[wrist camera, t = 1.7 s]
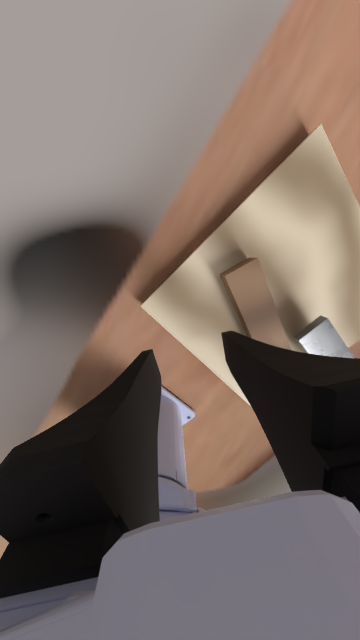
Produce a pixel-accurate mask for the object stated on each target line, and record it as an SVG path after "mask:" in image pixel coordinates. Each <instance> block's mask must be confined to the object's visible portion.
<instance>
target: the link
mask: <svg viewBox="0 0 360 640" xmlns="http://www.w3.org/2000/svg"><path fill="white" fill-rule="evenodd" d="M219 275H220V277H221V279H222V281H223V284H224V286H225V288H226V290H227V292H228V295H229V297H230V299H231V301H232V303H233V306H234V308H235V310H236V312H237V314H238V317H239V319H240V321H241V323H242V325H243V328H244V330H245V332H246V334H247V336H248V337H250V338H252V339H255V340H257V341H260V342H263V343H266V344H270V345H273V346H276V347H280V348H284V349H288V350H291V348H290V345H289V342H288V339H287V337H286V334H285V331H284V328H283V326H282V323H281V320H280V317H279V315H278V312H277V309H276V306H275V303H274V301H273V298H272V295H271V292H270V290H269V287H268V284H267V281H266V279H265V276H264V273H263V270H262V268H261V265H260V262H259V259H258V258H248V259H246V260H244V261H242V262H241V263H239V264H237V265H235V266H233V267H232V268H230V269H228V270H226V271H224V272H223V273H221V274H219Z"/></svg>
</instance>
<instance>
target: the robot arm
mask: <svg viewBox="0 0 360 640" xmlns="http://www.w3.org/2000/svg"><path fill="white" fill-rule="evenodd" d="M221 335H222V341H223V347H224V353H225V360H226V363H227V365H228V367H229V370H230V372H231V374H232V376H233V377H234V379H235V381H236V382H237V384H238V386H239V387H240V389H241V390H242V392H243V394H244V395H245V397H246V398H247V400H248V402H249V403H250V405H251V407H252V408H253V410H254V412H255V414H256V416H257V418H258V420H259V422H260V424H261V426H262V428H263V430H264V432H265V434H266V436H267V438H268V440H269V443H270V445H271V447H272V449H273V451H274V453H275V455H276V458H277V460H278V462H279V464H280V466H281V468H282V471H283V473H284V475H285V477H286V479H287V482H288V484H289V486H290V488H291V491H292V492H288V493H284V494H279V495H275V496H271V497H266V498H261V499H257V500H253V501H248V502H243V503H239V504H235V505H230V506H225V507H221V508H216V509H213V510H207V511H204V510H203V509H202V508H197V507H196V498H195V491H193V490H188V487H187V475H186V464H185V452H184V441H183V429H182V426H183V425H184V424H186V423H187V422H188V421H190V420H191V419H192V418H193V417H195V411H193V410H192V409H191V408H190V407H188V406H187V405H186V404H184V403H183V402H182V401H180V400H179V399H178V398H177V397H175V396H174V395H173V394H171V393H170V392H169V391H167V390H166V389H165V388H164V387H162V386H161V375H160V372H159V369H158V366H157V362H156V359H155V356H154V353H153V350H152V349H151V350H146V351H142V352H141V353H140V354H139V355H138V357H137V358H136V359H135V360H134V361H133V362H132V363H131V364H130V365H129V367H128V368H127V369H126V370H125V371H124V372H123V373H122V374H121V375H120V376H119V377H118V378H117V379H116V380H115V381H114V382H113V383H112V384H111V385H110V386H108V387H107V388H106V389H105V390H104V391H103V392H101V393H100V394H99V395H98V396H97V397H95V398H94V399H93V400H91V401H90V402H88V403H87V404H86V405H84V406H83V407H82V408H80V409H79V410H77V411H76V412H74V413H73V414H71V415H70V416H68V417H67V418H65V419H64V420H62V421H60V422H59V423H57V424H56V425H54V426H52V427H51V428H49V429H47V430H45V431H44V432H42V433H40V434H38V435H36V436H35V437H33V438H31V439H29V440H27V441H26V442H24V443H22V444H20V445H18V446H16V447H14V448H13V449H12V450H11V452H10V453H9V454H8V455H7V457H6V458H5V459H4V460H3V462H2V463H1V464H0V535H1V536H2V537H3V538H5V539H6V540H7V541H8V542H9V544H8V546H7V548H6V550H5V552H4V553H3V555H2V557H1V559H0V640H360V359H357V358H343V357H332V356H323V355H316V354H309V353H303V352H298V351H293V350H288V349H284V348H280V347H276V346H273V345H270V344H266V343H263V342H260V341H257V340H255V339H252V338H250V337H247V336H245V335H242V334H240V333H237V332H234V331H227V332H222V333H221Z"/></svg>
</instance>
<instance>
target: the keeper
mask: <svg viewBox="0 0 360 640" xmlns="http://www.w3.org/2000/svg"><path fill="white" fill-rule="evenodd" d="M293 338H294V339H295V340H296V342H297V343H298V344H299V345H300V347H301V348H302V349H303V350H304V352H305V353H309V354H316V355H323V356H332V357H343V358H354V356H353V355H352V353H351V352H350V350H349V349H348V347H347V346H346V344H345V343H344V341H343V340H342V338H341V337H340V335H339V334H338V332H337V331H336V329H335V328H334V326H333V325H332V323H331V322H330V320H329V319H328V318H326V317H323V316H321V315H320V316H319V317H318V318H316V319H315V320H314V321H313V322H311V323H310V324H309V325H307V326H306V327H305V328H304V329H302V330H301V331H300V332H298V333H297V334H296V335H295V336H293Z"/></svg>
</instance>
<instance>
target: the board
mask: <svg viewBox="0 0 360 640" xmlns="http://www.w3.org/2000/svg"><path fill="white" fill-rule="evenodd" d="M248 258H258V259H259V262H260V265H261V268H262V270H263V273H264V276H265V279H266V281H267V284H268V287H269V290H270V292H271V295H272V298H273V301H274V303H275V306H276V309H277V312H278V315H279V317H280V320H281V323H282V326H283V328H284V331H285V334H286V337H287V339H288V342H289V345H290V348H291V350H293V351H298V352H303V353H305V352H304V350H303V349H302V348H301V347H300V345H299V344H298V343H297V342H296V340H295V339H294V338H293V336H295V335H296V334H297V333H298V332H300V331H301V330H302V329H304V328H305V327H306V326H307V325H309V324H310V323H311V322H313V321H314V320H315V319H316V318H318V317H319V316H320V315H321V316H323V317H326V318H328V319H329V320H330V322H331V323H332V325H333V326H334V328H335V329H336V331H337V332H338V334H339V335H340V337H341V338H342V340H343V341H344V343H345V344H346V346H347V347H348V348H349V347H350V346H352V345H353V344H355V343H356V342H357V341H359V340H360V206H359V204H358V201H357V199H356V197H355V195H354V193H353V191H352V189H351V186H350V184H349V182H348V180H347V178H346V176H345V174H344V171H343V169H342V167H341V165H340V163H339V161H338V159H337V156H336V154H335V152H334V150H333V148H332V146H331V144H330V141H329V139H328V137H327V135H326V133H325V131H324V129H323V126H322V124H320V125H319V126H318V127H317V128H316V129H315V130H314V131H312V132H311V133H310V134H309V135H308V136H307V137H306V138H305V139H304V140H303V141H302V142H301V143H300V144H299V145H298V146H297V147H296V148H295V149H294V150H293V151H292V152H291V153H290V154H289V155H288V156H287V157H286V158H285V159H284V160H283V161H282V162H281V163H280V164H279V165H278V166H277V167H276V168H275V169H274V170H273V171H272V172H271V173H270V174H269V175H268V176H267V177H266V179H265V180H264V181H263V182H262V183H261V184H260V185H259V186H258V187H257V188H256V189H255V190H254V191H253V192H252V193H251V194H250V195H249V196H248V197H247V198H246V199H245V200H244V201H243V202H242V203H241V204H240V205H239V206H238V207H237V208H236V209H235V210H234V211H233V212H232V213H231V214H230V215H229V216H228V217H227V218H226V219H225V220H224V221H223V222H222V223H221V224H220V225H219V226H218V227H217V228H216V229H215V230H214V231H213V232H212V233H211V234H210V235H209V236H208V237H207V238H206V239H205V240H204V241H203V242H202V243H201V244H200V245H199V246H198V247H197V248H196V249H195V250H194V251H193V252H192V253H191V254H190V256H189V257H188V258H187V259H186V260H185V261H184V262H183V263H182V264H181V265H180V266H179V267H178V268H177V269H176V270H175V271H174V272H173V273H172V274H171V275H170V276H169V277H168V278H167V279H166V280H165V281H164V282H163V283H162V284H161V285H160V286H159V287H158V288H157V289H156V290H155V291H154V292H153V293H152V294H151V295H150V296H149V297H148V298H147V299H146V300H145V301H144V302H143V303H142V305H141V307H142V308H143V309H144V310H145V311H146V312H147V313H148V314H150V315H151V316H152V317H153V318H154V319H155V320H156V321H157V322H158V323H160V324H161V325H162V326H163V327H164V328H165V329H166V330H167V331H168V332H169V333H171V334H172V335H173V336H174V337H175V338H176V339H177V340H178V341H179V342H180V343H182V344H183V345H184V346H185V347H186V348H187V349H188V350H189V351H190V352H192V353H193V354H194V355H195V356H196V357H197V358H198V359H199V360H200V361H201V362H203V363H204V364H205V365H206V366H207V367H208V368H209V369H210V370H211V371H213V372H214V373H215V374H216V375H217V376H218V377H219V378H220V379H221V380H222V381H224V382H225V383H226V384H227V385H228V386H229V387H230V388H231V389H232V390H233V391H235V392H236V393H237V394H238V395H239V396H240V397H241V398H242V399H243V400H245V401H246V402H247V403H248V404H249V405H250V403H249V402H248V400H247V398H246V397H245V395H244V394H243V392H242V390H241V389H240V387H239V386H238V384H237V382H236V381H235V379H234V377H233V376H232V374H231V372H230V370H229V367H228V365H227V363H226V360H225V353H224V347H223V341H222V335H221V333H222V332H227V331H234V332H237V333H240V334H242V335H245V336H247V334H246V332H245V330H244V328H243V325H242V323H241V321H240V319H239V317H238V314H237V312H236V310H235V308H234V306H233V303H232V301H231V299H230V297H229V295H228V292H227V290H226V288H225V286H224V284H223V281H222V279H221V277H220V275H219V274H221V273H223V272H224V271H226V270H228V269H230V268H232V267H233V266H235V265H237V264H239V263H241V262H242V261H244V260H246V259H248ZM247 337H248V336H247ZM250 406H251V405H250Z"/></svg>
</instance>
